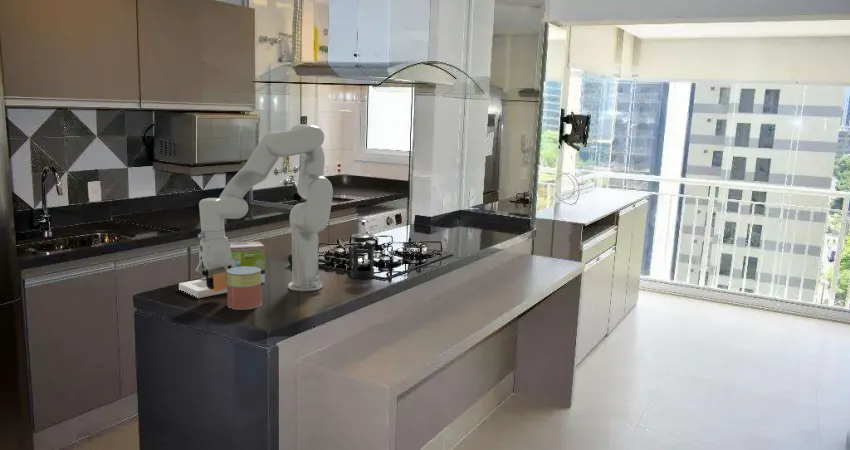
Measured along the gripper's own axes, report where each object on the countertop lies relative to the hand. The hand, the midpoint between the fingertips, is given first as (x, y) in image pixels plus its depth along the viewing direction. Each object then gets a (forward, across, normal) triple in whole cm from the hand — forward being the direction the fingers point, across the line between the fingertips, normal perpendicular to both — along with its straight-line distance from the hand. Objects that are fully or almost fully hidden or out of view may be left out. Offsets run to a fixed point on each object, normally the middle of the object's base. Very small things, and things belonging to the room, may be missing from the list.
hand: (217, 286), depth 223 cm
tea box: (+6, +19, +15) cm, 25 cm away
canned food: (+5, +4, -11) cm, 13 cm away
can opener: (+8, +51, +18) cm, 55 cm away
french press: (+8, +58, -9) cm, 59 cm away
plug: (+1, 0, 0) cm, 1 cm away
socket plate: (+5, +3, +13) cm, 14 cm away
